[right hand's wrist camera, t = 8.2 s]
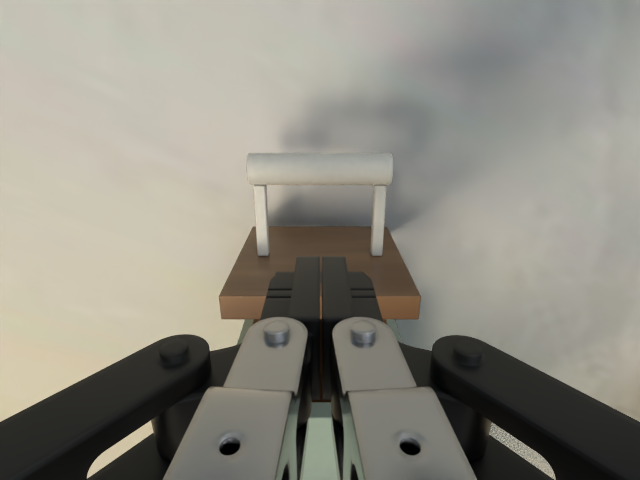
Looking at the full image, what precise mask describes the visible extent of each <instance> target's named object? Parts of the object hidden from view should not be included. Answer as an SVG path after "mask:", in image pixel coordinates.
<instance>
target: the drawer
mask: <svg viewBox="0 0 640 480" xmlns="http://www.w3.org/2000/svg"><path fill="white" fill-rule="evenodd" d="M393 169H394V164H393V156H392V154H391V153H249V154H248V157H247V178H248V182H249V184H251V185H254V186H253V188H254V204H255V220H256V227H253V228H252V230H251V232H250V234H249V236H248V238H247V240H246V242H245V244H244V246H243V248H242V250H241V252H240V255H239V257H238V259H237V261H236V263H235V265H234V267H233V269H232V271H231V273H230V275H229V277H228V279H227V281H226V283H225V285H224V287H223V289H222V291H221V293H220V295H219V301H220V311H221V319H253V322H252V325H253V324H255V323H257V322H258V321H260V318H261V314H262V310H263V306H264V302H265V298H266V295H267V291H268V287H269V283H270V280H271V279H272V278H273V277H274V276H275V275H276V274H277V273H278V272H295V264H296V257H297V256H320V400H312V402H331V400H323V383H322V256H345V257H346V263H347V270H348V272H364V273H365V274H366V275H367V276H368V277H369V278H371V279H372V282H373V286H374V290H375V293H376V298H377V301H378V304H379V308H380V312H381V315H382V319H383V323H385V324H387V325H388V323H387V320H386V319H418V318H419V310H420V300H421V296H420V294H419V292H418V290H417V287H416V285H415V283H414V281H413V279H412V277H411V275H410V273H409V271H408V269H407V267H406V265H405V263H404V261H403V259H402V257H401V255H400V253H399V251H398V249H397V247H396V245H395V243H394V240H393V238H392V236H391V234H390V232H389V230H388V228H387V227H384V220H385V204H386V189H387V187H386V185H390V184H391V182H392V179H393ZM266 185H374V189H373V209H372V227H268V208H267V188H266Z"/></svg>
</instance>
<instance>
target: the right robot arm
mask: <svg viewBox="0 0 640 480" xmlns="http://www.w3.org/2000/svg"><path fill="white" fill-rule="evenodd" d="M322 383H323V400H331V431H332V439H333V447H334V455H335V463H336V471H337V479H338V480H554V479H552V478H551V477H549V476H548V475H546V474H545V473H543V472H542V471H541V470H539V469H538V468H536V467H535V466H533V465H532V464H531V463H529V462H528V461H526V460H525V459H523V458H522V457H521V456H519V455H518V454H516V453H515V452H513V451H512V450H510V449H509V448H508V447H506V446H505V445H503V444H502V443H500V442H499V441H498V440H496V439H495V438H493V437H492V436H490V435H489V432H490V427H491V422H493V423H494V424H496V425H497V426H499V427H500V428H502V429H503V430H505V431H506V432H508V433H509V434H511V435H512V436H514V437H515V438H517V439H518V440H520V441H521V442H523V443H524V444H526V445H527V446H529V447H530V448H532V449H533V450H535V451H536V452H538V453H539V454H540V455H541V456H543V457H544V458H545V459H546V460H547V462H548V463H549V464H550V466H551V467H552V469H553V471H554V473H555V477H556V480H640V422H639V421H637V420H635V419H633V418H631V417H629V416H627V415H625V414H623V413H621V412H619V411H617V410H615V409H613V408H611V407H609V406H607V405H606V404H604V403H602V402H600V401H598V400H596V399H594V398H592V397H590V396H588V395H586V394H584V393H582V392H580V391H578V390H576V389H574V388H572V387H571V386H569V385H567V384H565V383H563V382H561V381H559V380H557V379H555V378H553V377H551V376H549V375H547V374H545V373H543V372H541V371H539V370H538V369H536V368H534V367H532V366H530V365H528V364H526V363H524V362H522V361H520V360H518V359H516V358H514V357H512V356H510V355H508V354H506V353H505V352H503V351H501V350H499V349H497V348H495V347H493V346H491V345H489V344H487V343H485V342H483V341H481V340H478V339H475V338H472V337H468V336H460V335H451V336H446V337H442V338H440V339H438V340H437V341H436V342H435V343H434V345H433V347H432V351H429V350H424V349H419V348H415V347H411V346H408V345H405V344H403V343H401V342H399V341H397V339H396V337H395V335H394V332H393V331H392V329H391V328H390V327H389V326H388V325H387V324H385V323H383V319H382V315H381V312H380V308H379V304H378V301H377V298H376V293H375V290H374V286H373V282H372V279H371V278H369V277H368V276H367V275H366V274H365V273H364V272H348V270H347V263H346V257H345V256H322ZM312 400H320V256H297V257H296V264H295V272H278V273H277V274H276V275H275V276H274V277H273V278H272V279H271V280H270V283H269V287H268V291H267V295H266V298H265V302H264V306H263V310H262V314H261V318H260V321H258V322H257V323H255V324H253V325H252V326H251V327H250V328H249V329H248V331H247V332H246V335H245V337H244V339H243V342H242V343H240V344H238V345H235V346H232V347H229V348H224V349H219V350H215V351H210V350H209V345H208V343H207V342H206V340H204V339H203V338H201V337H199V336H195V335H185V334H184V335H175V336H170V337H167V338H164V339H161V340H159V341H157V342H155V343H153V344H151V345H149V346H147V347H145V348H143V349H141V350H139V351H137V352H135V353H134V354H132V355H130V356H128V357H126V358H124V359H122V360H120V361H118V362H116V363H114V364H112V365H110V366H108V367H106V368H104V369H102V370H101V371H99V372H97V373H95V374H93V375H91V376H89V377H87V378H85V379H83V380H81V381H79V382H77V383H75V384H73V385H71V386H69V387H68V388H66V389H64V390H62V391H60V392H58V393H56V394H54V395H52V396H50V397H48V398H46V399H44V400H42V401H40V402H38V403H36V404H34V405H33V406H31V407H29V408H27V409H25V410H23V411H21V412H19V413H17V414H15V415H13V416H11V417H9V418H7V419H5V420H3V421H1V422H0V480H302V479H303V471H304V463H305V455H306V447H307V439H308V431H309V417H310V414H311V407H312ZM150 420H151V422H152V427H153V432H154V433H152V434H151V435H150V436H148V437H147V438H145V439H144V440H142V441H141V442H140V443H138V444H137V445H135V446H134V447H132V448H131V449H130V450H128V451H127V452H125V453H124V454H122V455H121V456H119V457H118V458H117V459H115V460H114V461H112V462H111V463H109V464H108V465H107V466H105V467H104V468H102V469H101V470H99V471H98V472H97V473H95V474H94V475H92V476H91V477H89V478H88V479H87V473H88V470H89V468H90V466H91V465H92V463H93V462H94V460H95V459H96V458H97V457H98V456H99V455H100V454H101V453H103V452H104V451H105V450H107V449H108V448H110V447H111V446H113V445H114V444H116V443H117V442H119V441H120V440H122V439H123V438H125V437H126V436H128V435H129V434H131V433H132V432H134V431H135V430H137V429H138V428H140V427H141V426H143V425H144V424H146V423H147V422H149V421H150Z"/></svg>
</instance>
